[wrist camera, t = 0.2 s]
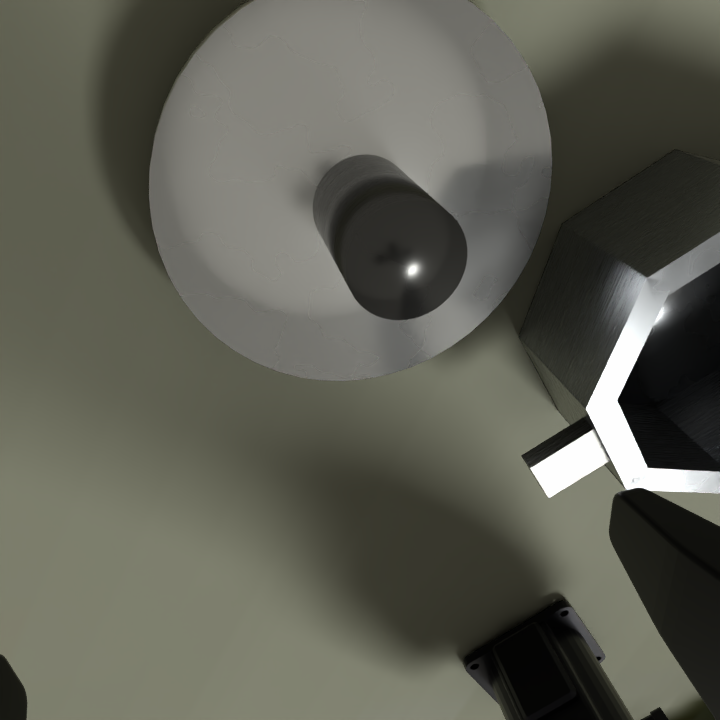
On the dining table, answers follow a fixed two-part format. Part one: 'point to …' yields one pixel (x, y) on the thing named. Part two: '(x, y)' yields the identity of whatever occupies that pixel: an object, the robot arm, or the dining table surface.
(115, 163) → the dining table surface
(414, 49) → the lid
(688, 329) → the pot
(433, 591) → the dining table surface
